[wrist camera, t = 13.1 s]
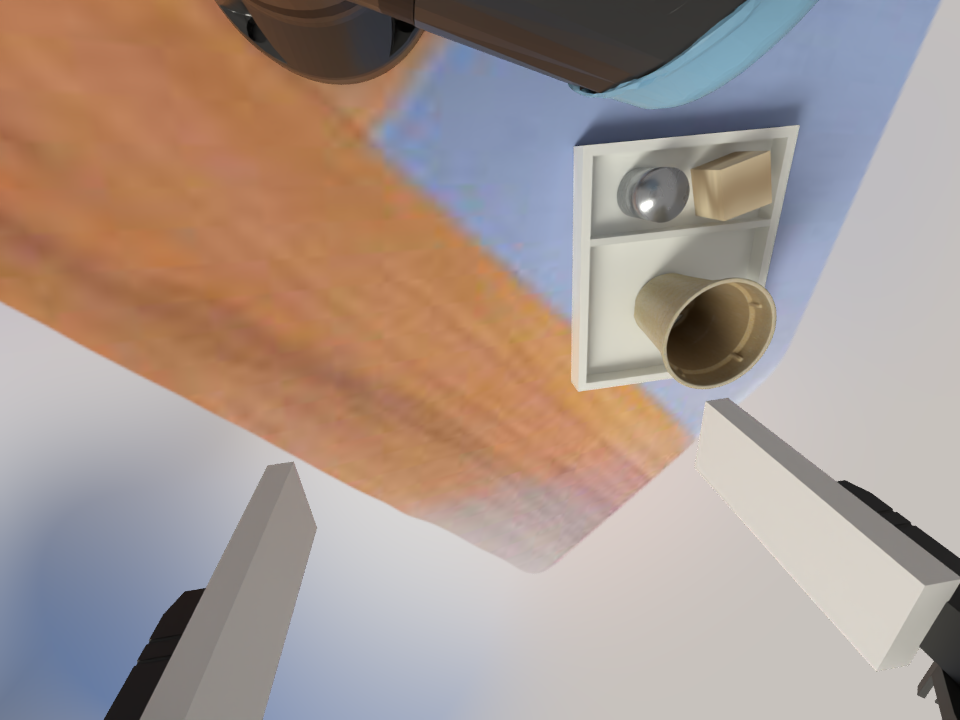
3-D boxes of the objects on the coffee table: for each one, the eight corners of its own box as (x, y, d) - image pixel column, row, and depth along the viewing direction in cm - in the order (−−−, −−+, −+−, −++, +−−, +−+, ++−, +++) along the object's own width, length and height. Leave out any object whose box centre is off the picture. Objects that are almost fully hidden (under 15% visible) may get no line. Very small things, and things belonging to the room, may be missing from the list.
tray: (573, 146, 34) (583, 145, 32) (778, 127, 36) (799, 125, 34) (571, 381, 44) (578, 391, 42) (733, 358, 45) (747, 367, 43)
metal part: (607, 197, 36) (631, 200, 32) (640, 156, 35) (668, 155, 31) (637, 226, 37) (663, 233, 34) (669, 187, 36) (699, 190, 33)
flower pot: (727, 270, 40) (800, 296, 32) (681, 357, 44) (737, 399, 36) (643, 242, 38) (700, 263, 30) (601, 336, 42) (643, 376, 34)
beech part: (690, 169, 36) (720, 170, 32) (735, 151, 36) (770, 150, 32) (695, 215, 38) (724, 221, 34) (738, 198, 37) (772, 202, 34)
